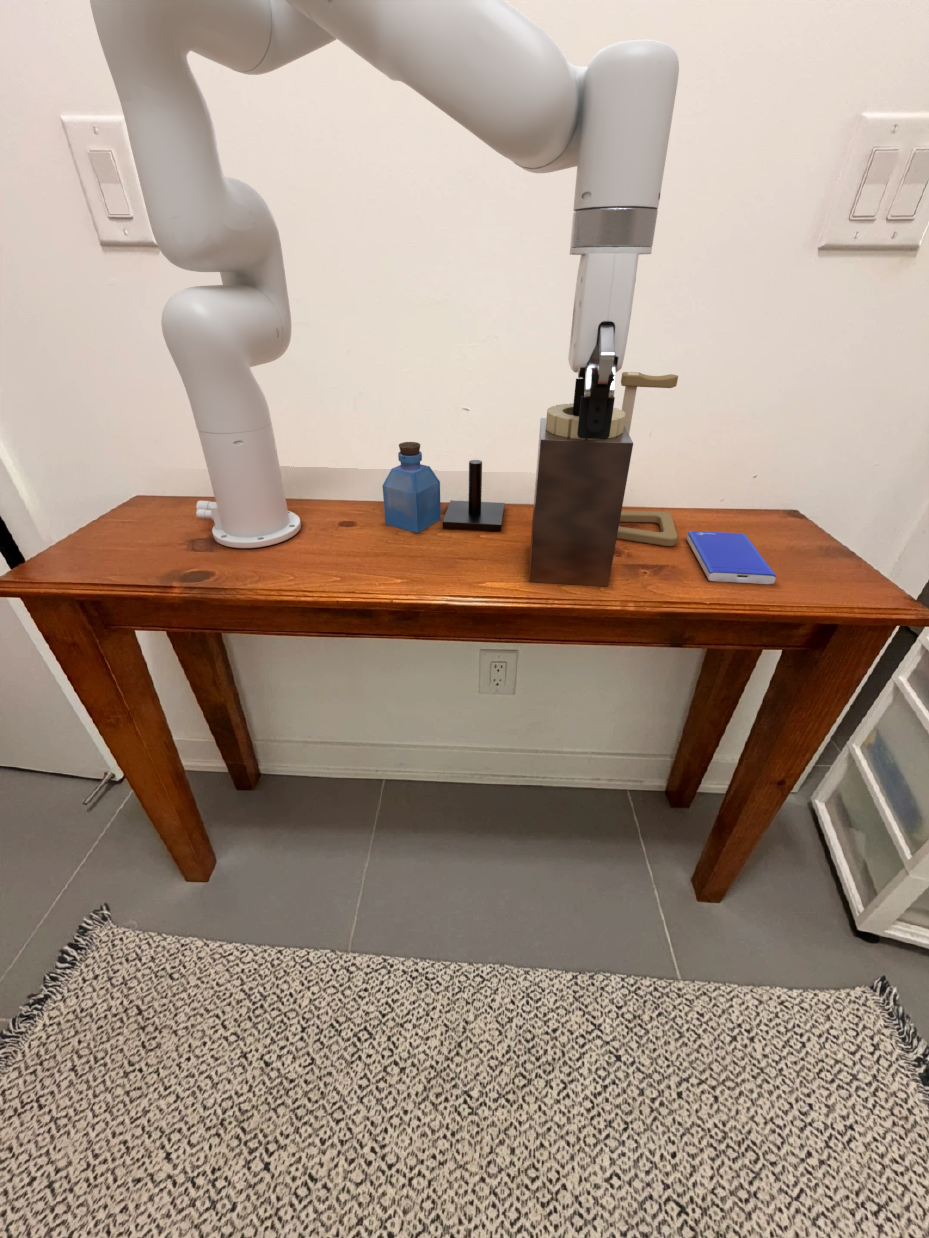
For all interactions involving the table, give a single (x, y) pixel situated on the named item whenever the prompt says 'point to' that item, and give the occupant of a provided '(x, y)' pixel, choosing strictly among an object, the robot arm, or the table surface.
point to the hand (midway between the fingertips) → (589, 426)
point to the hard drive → (729, 558)
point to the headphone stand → (631, 383)
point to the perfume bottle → (411, 492)
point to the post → (474, 507)
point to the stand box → (577, 507)
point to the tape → (567, 424)
